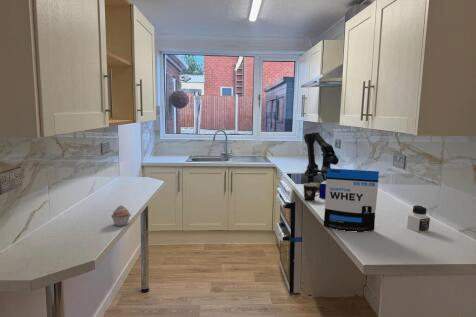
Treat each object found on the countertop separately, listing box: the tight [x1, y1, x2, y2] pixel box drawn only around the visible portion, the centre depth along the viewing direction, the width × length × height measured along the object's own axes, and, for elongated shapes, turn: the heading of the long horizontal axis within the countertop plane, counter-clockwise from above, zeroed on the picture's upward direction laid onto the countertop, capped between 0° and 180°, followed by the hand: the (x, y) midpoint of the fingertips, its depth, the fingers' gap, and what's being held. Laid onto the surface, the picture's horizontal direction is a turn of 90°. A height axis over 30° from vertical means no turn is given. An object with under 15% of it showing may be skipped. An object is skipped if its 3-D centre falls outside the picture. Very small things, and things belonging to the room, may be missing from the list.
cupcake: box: [110, 204, 132, 227], centre depth 172 cm, size 9×9×10 cm
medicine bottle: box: [406, 204, 431, 233], centre depth 173 cm, size 7×7×12 cm
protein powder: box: [323, 167, 380, 233], centre depth 171 cm, size 10×24×30 cm, turn 77°
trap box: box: [311, 182, 321, 193], centre depth 252 cm, size 15×18×6 cm
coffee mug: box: [303, 182, 323, 202], centre depth 223 cm, size 12×9×10 cm
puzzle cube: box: [318, 180, 326, 200], centre depth 232 cm, size 10×10×10 cm
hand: (325, 183), depth 254 cm, fingers closed
